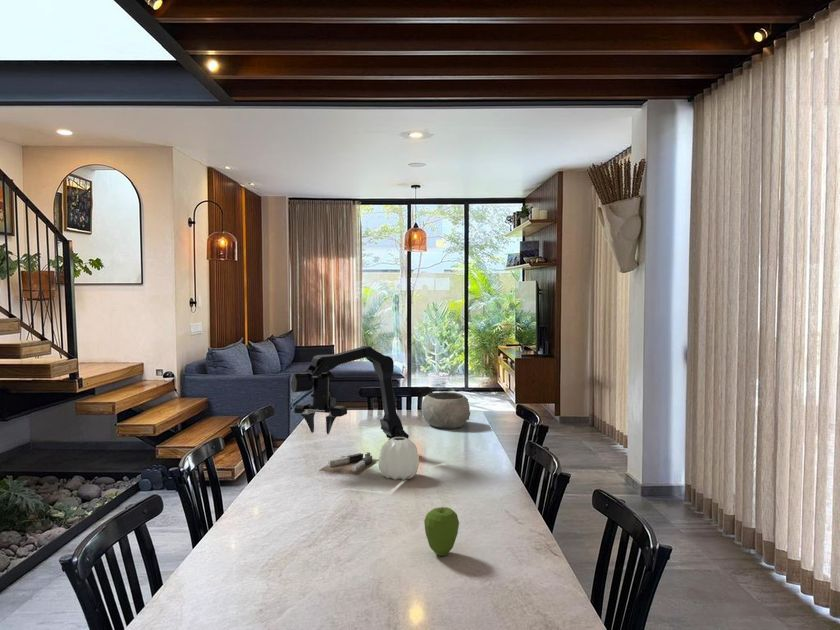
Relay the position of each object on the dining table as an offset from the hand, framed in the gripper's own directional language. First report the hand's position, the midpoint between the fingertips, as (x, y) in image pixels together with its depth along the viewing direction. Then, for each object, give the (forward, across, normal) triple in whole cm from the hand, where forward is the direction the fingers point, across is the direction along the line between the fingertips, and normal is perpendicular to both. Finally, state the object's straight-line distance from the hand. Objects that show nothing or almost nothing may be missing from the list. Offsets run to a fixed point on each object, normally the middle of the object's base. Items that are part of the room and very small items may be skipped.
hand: (320, 433), depth 216 cm
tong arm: (+11, -8, -4) cm, 14 cm away
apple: (+12, -61, +56) cm, 84 cm away
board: (+12, -10, -3) cm, 16 cm away
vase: (+12, -31, +2) cm, 33 cm away
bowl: (+12, -25, -82) cm, 87 cm away
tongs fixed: (+11, -15, -4) cm, 19 cm away
